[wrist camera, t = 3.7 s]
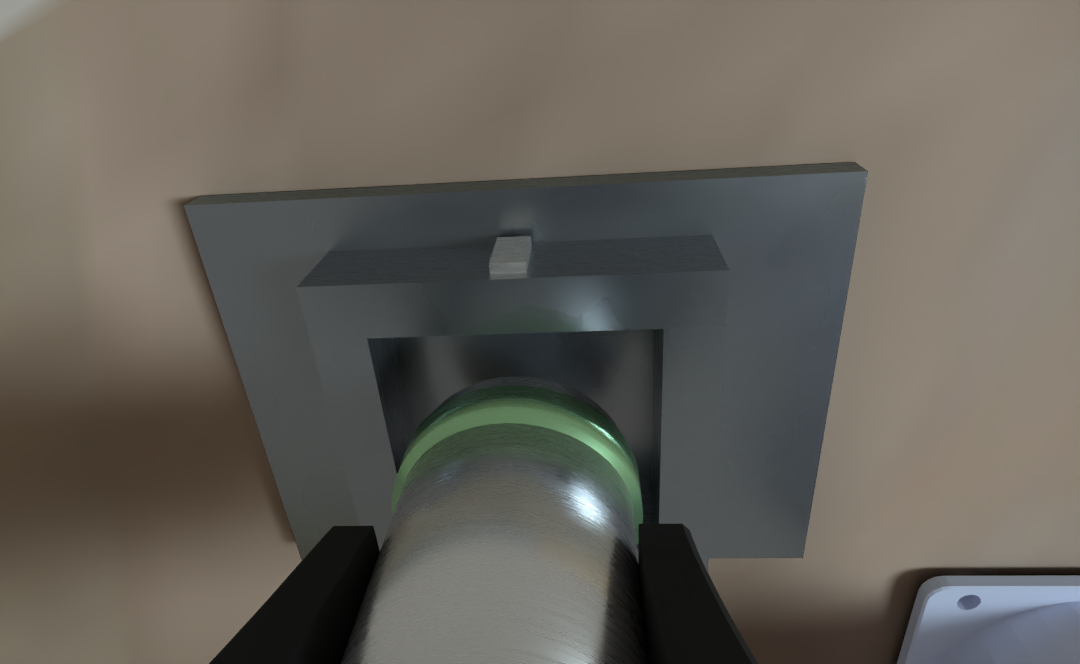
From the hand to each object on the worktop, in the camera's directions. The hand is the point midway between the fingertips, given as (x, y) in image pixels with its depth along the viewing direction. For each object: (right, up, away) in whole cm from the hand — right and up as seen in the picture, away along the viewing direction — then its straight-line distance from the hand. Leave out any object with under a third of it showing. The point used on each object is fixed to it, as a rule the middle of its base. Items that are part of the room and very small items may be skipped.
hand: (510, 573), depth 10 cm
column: (0, +1, +2) cm, 2 cm away
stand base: (0, +2, +4) cm, 5 cm away
